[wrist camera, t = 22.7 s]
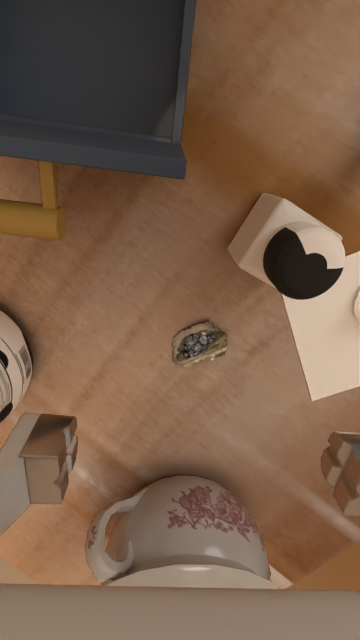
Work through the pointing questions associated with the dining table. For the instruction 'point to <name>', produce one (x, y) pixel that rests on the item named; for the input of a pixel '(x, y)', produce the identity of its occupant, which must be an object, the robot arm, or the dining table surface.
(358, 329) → the teacup and saucer
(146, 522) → the milk jug
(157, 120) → the chest
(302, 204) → the dining table surface
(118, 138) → the lid
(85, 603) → the robot arm
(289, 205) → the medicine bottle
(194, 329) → the blueberries
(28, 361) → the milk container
